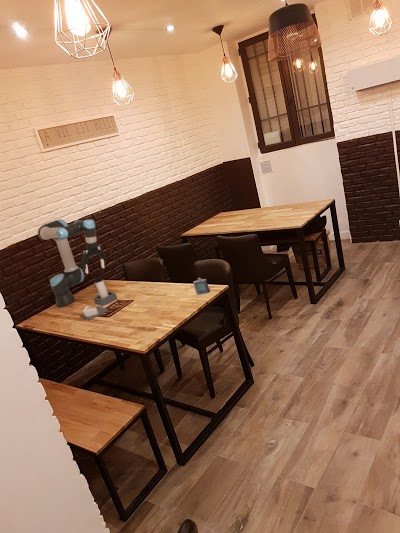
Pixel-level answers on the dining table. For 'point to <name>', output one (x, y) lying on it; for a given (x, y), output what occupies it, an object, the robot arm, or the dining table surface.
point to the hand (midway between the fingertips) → (95, 270)
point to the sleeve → (105, 299)
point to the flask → (201, 286)
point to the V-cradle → (92, 312)
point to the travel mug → (101, 287)
